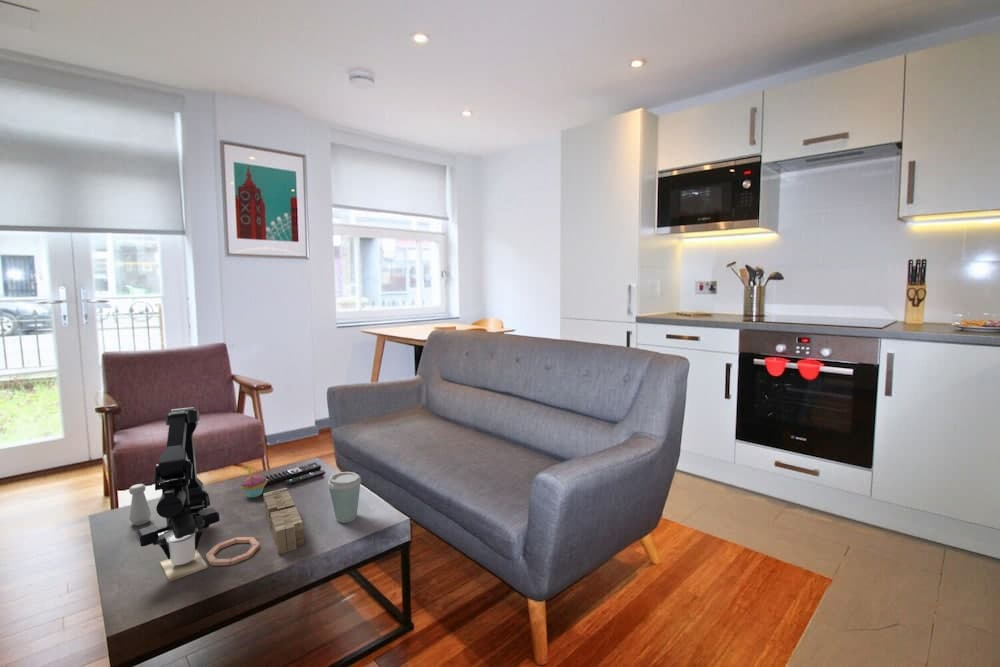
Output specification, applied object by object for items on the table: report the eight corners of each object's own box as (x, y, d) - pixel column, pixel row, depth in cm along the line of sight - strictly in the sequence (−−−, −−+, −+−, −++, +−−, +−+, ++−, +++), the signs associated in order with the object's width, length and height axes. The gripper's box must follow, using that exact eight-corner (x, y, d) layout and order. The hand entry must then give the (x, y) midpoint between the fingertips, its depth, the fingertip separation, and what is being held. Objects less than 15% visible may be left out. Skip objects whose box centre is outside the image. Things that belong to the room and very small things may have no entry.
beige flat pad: (160, 563, 139) (160, 561, 139) (196, 550, 146) (196, 548, 145) (169, 582, 131) (169, 579, 131) (207, 567, 137) (207, 565, 137)
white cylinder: (192, 549, 143) (189, 526, 142) (201, 557, 138) (199, 534, 138) (164, 560, 138) (162, 537, 137) (173, 569, 133) (170, 545, 132)
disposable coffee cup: (357, 507, 171) (355, 466, 169) (367, 520, 162) (365, 477, 160) (326, 516, 165) (323, 474, 163) (335, 530, 156) (332, 485, 154)
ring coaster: (202, 552, 144) (202, 549, 144) (249, 535, 154) (249, 532, 153) (215, 571, 135) (214, 567, 135) (264, 551, 144) (264, 548, 144)
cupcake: (237, 499, 178) (234, 468, 177) (250, 489, 187) (247, 459, 185) (260, 499, 178) (258, 468, 177) (272, 489, 186) (269, 459, 185)
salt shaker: (125, 525, 161) (121, 488, 160) (143, 517, 167) (138, 480, 165) (139, 528, 159) (134, 490, 158) (155, 519, 165) (151, 482, 163)
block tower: (305, 550, 147) (289, 508, 172) (303, 524, 146) (287, 485, 170) (276, 558, 143) (264, 514, 167) (275, 531, 142) (262, 491, 166)
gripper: (141, 524, 124) (148, 581, 126) (222, 499, 137) (227, 551, 139) (133, 509, 132) (140, 563, 134) (211, 487, 145) (216, 537, 147)
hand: (182, 554), depth 138 cm, fingers closed on white cylinder, 6 cm apart
